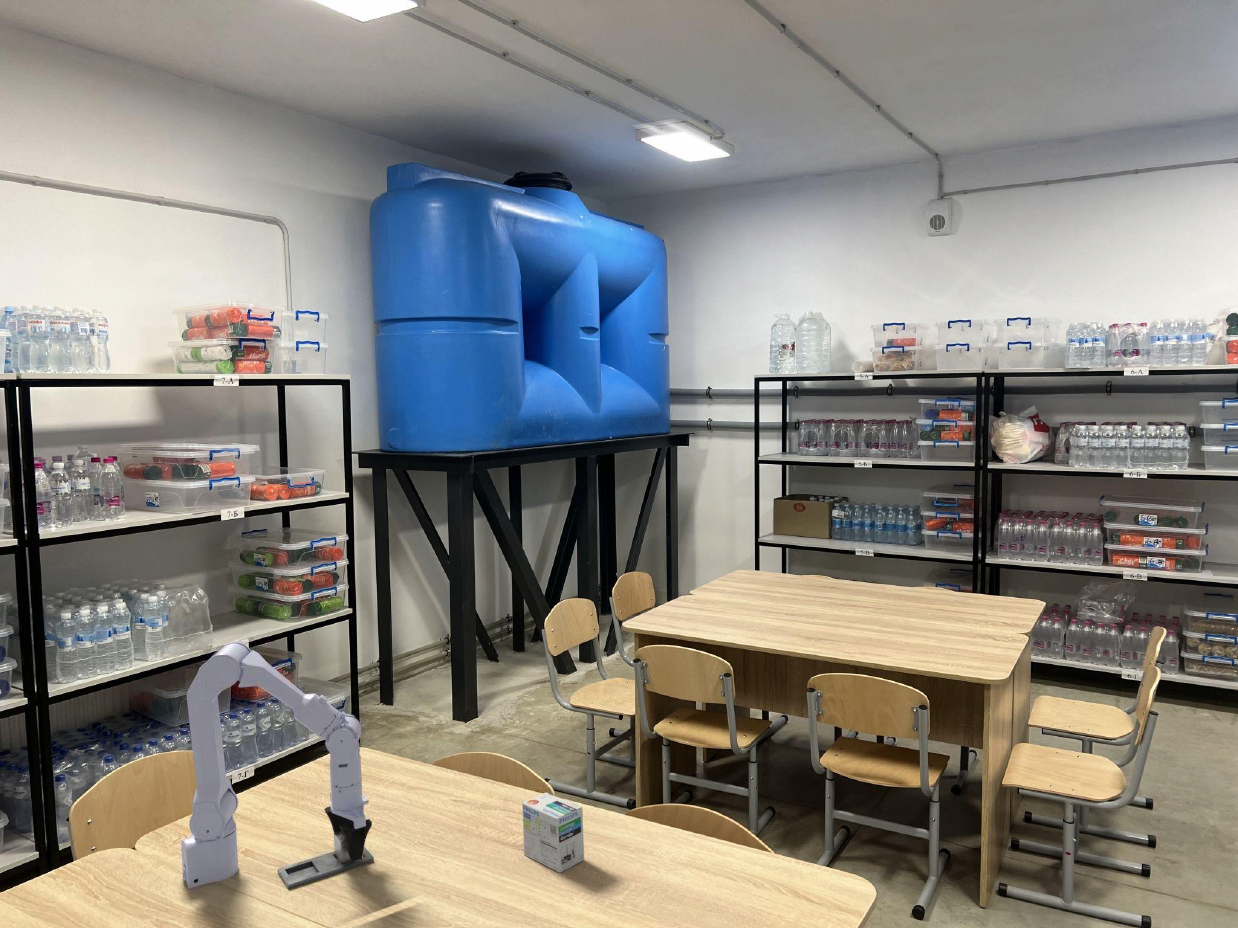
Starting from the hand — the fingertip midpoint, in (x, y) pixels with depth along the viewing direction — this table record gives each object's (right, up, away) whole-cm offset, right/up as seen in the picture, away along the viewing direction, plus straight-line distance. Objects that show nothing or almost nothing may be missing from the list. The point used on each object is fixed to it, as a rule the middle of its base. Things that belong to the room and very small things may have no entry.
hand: (349, 849), depth 173 cm
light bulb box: (+39, -2, +1) cm, 39 cm away
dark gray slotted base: (-4, -3, -2) cm, 5 cm away
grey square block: (0, -2, 0) cm, 2 cm away
